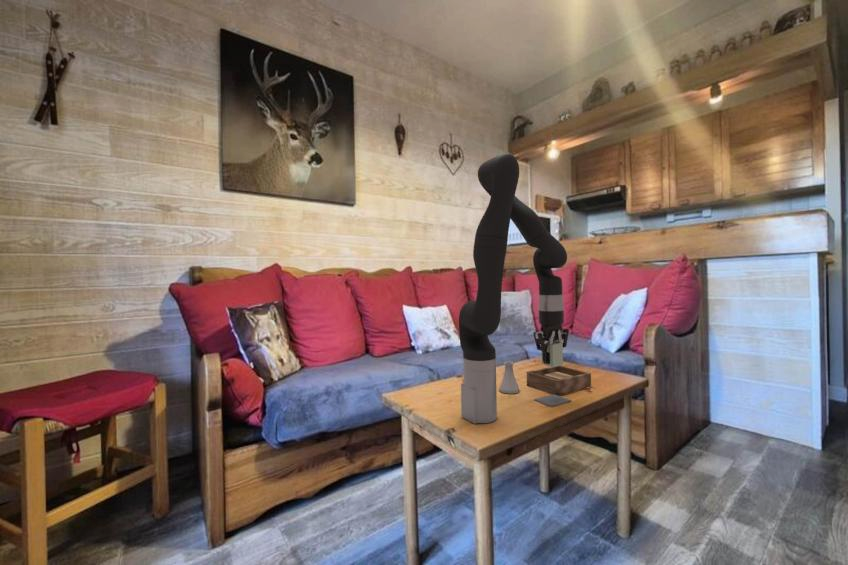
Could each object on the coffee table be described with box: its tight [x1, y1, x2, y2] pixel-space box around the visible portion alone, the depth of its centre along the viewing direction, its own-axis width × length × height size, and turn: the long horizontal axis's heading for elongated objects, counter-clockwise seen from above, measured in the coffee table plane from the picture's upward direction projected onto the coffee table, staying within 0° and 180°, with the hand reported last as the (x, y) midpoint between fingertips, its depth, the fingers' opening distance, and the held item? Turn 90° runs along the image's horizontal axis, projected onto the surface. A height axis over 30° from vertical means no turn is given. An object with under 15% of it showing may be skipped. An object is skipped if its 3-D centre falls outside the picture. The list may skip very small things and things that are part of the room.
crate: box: [526, 365, 592, 397], centre depth 129 cm, size 17×14×5 cm
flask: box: [498, 361, 521, 394], centre depth 125 cm, size 7×7×10 cm
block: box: [541, 341, 564, 367], centre depth 114 cm, size 4×4×7 cm
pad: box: [534, 394, 572, 408], centre depth 114 cm, size 9×7×1 cm
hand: (552, 362), depth 114 cm, fingers closed on block, 4 cm apart
